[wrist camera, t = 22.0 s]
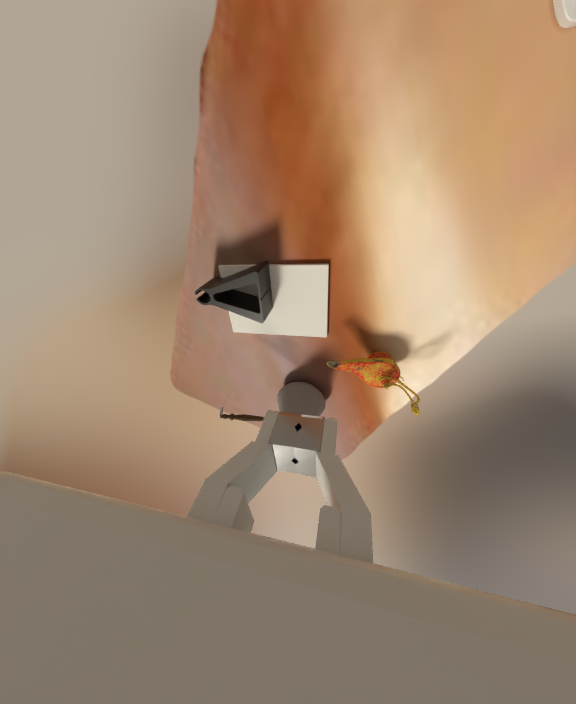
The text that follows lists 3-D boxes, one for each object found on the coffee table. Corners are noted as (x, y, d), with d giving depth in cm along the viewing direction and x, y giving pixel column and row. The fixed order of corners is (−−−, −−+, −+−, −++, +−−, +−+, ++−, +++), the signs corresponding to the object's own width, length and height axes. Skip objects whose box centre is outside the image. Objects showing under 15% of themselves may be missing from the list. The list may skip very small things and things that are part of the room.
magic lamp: (336, 329, 47) (332, 363, 38) (422, 362, 47) (438, 404, 38) (323, 354, 51) (317, 391, 43) (402, 385, 51) (412, 428, 43)
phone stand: (268, 260, 42) (205, 260, 44) (257, 271, 37) (187, 270, 39) (273, 308, 47) (216, 305, 49) (264, 323, 42) (202, 319, 45)
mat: (328, 263, 40) (328, 264, 40) (327, 335, 48) (326, 337, 48) (219, 264, 45) (218, 266, 44) (235, 330, 53) (233, 332, 52)
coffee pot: (335, 388, 56) (329, 444, 44) (314, 415, 63) (305, 470, 51) (250, 350, 55) (222, 398, 43) (239, 382, 62) (212, 430, 51)
